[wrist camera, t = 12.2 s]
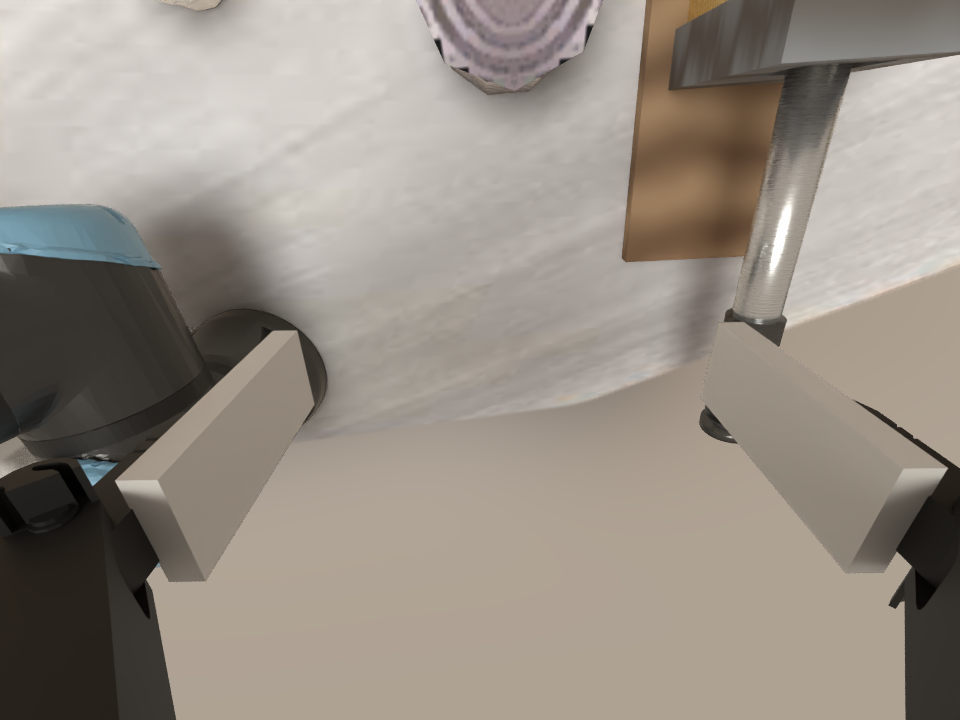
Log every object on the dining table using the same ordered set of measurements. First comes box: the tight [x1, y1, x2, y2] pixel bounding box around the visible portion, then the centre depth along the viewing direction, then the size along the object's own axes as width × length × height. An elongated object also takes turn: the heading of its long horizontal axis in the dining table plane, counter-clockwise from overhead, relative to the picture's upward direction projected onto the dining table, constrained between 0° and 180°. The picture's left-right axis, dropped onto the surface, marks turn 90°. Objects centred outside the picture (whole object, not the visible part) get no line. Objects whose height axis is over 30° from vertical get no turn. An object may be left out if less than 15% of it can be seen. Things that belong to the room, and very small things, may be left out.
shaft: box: [699, 63, 853, 444], centre depth 31 cm, size 28×4×4 cm, turn 3°
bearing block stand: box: [622, 0, 960, 262], centre depth 28 cm, size 30×14×17 cm, turn 3°
